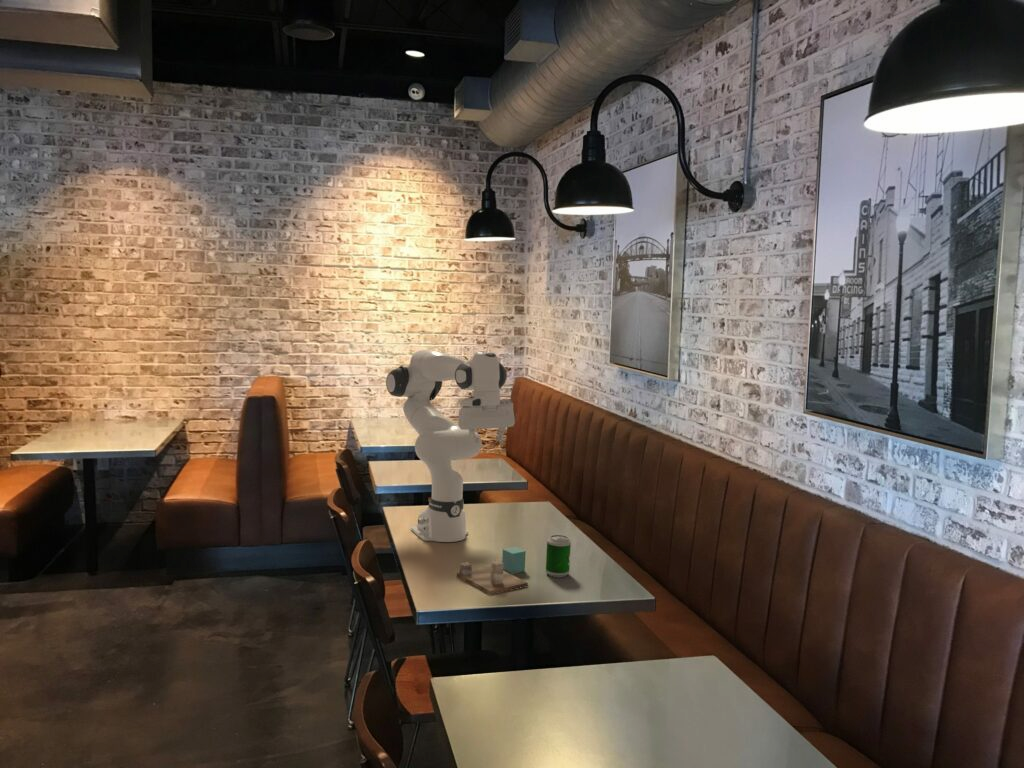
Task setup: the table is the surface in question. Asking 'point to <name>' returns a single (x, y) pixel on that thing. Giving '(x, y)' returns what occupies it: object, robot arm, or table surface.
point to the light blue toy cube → (513, 560)
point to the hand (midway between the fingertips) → (487, 441)
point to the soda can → (558, 555)
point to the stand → (490, 578)
